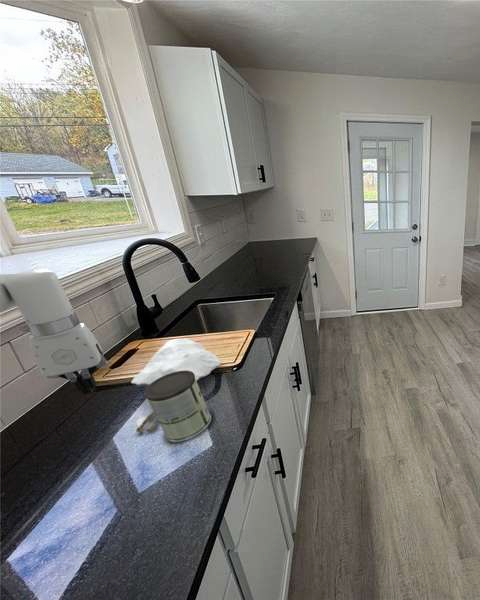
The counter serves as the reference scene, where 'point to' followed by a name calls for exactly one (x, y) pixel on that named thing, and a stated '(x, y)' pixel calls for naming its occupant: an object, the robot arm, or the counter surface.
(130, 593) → the counter surface
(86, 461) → the counter surface
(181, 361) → the crumpled cloth
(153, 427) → the tongs
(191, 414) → the coffee can
